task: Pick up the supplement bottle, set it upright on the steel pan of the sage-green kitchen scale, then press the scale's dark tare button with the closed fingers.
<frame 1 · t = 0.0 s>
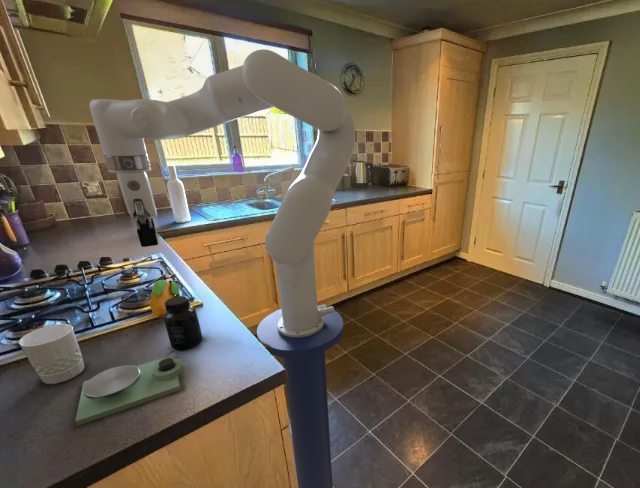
hand: (149, 240, 77), 24 cm above the worktop, tool pointing down, fingers open, 9 cm apart
scale pan: (113, 381, 64), on the scale, point 3 cm above the worktop
tare button: (166, 364, 69), point 3 cm above the worktop, slide at 0.2 cm
supplement bottle: (187, 344, 81), on the worktop
bottle: (183, 221, 185), on the worktop
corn: (167, 310, 95), on the worktop
white cup: (64, 374, 70), on the worktop
scale: (132, 387, 67), on the worktop
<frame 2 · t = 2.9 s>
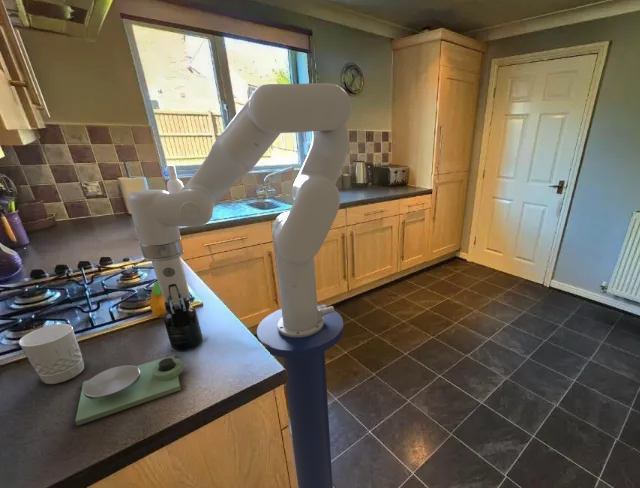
hand: (181, 318, 78), 7 cm above the worktop, tool pointing down, fingers closed on supplement bottle, 6 cm apart
supplement bottle: (187, 343, 81), on the worktop, touching gripper
everything else where it was.
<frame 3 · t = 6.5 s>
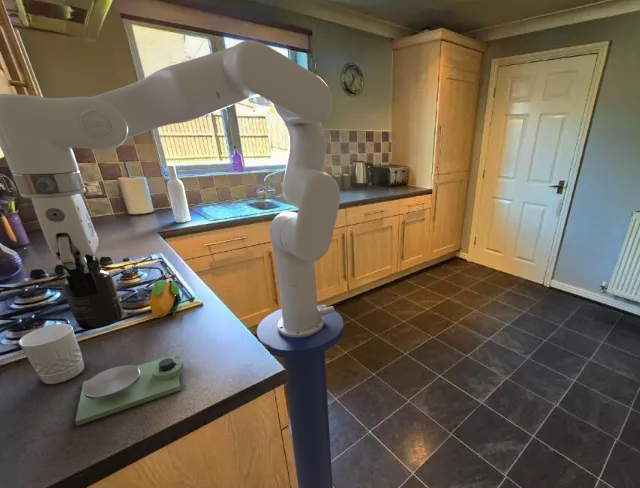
hand: (89, 286, 58), 23 cm above the worktop, tool pointing down, fingers closed on supplement bottle, 6 cm apart
supplement bottle: (102, 321, 61), point 16 cm above the worktop, touching gripper
everything else where it was.
when the fingers open (10 cm above the worktop, at t = 9.9 s): supplement bottle stays where it is, resting on scale pan.
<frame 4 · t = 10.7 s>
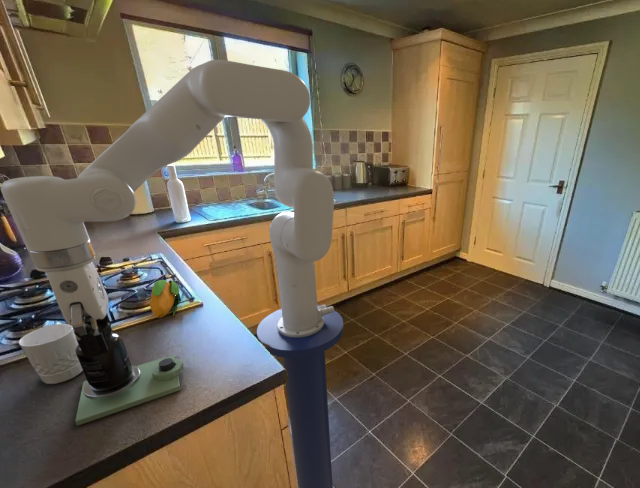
hand: (99, 340, 61), 12 cm above the worktop, tool pointing down, fingers open, 9 cm apart
supplement bottle: (113, 380, 64), point 3 cm above the worktop, touching scale pan
everything else where it was.
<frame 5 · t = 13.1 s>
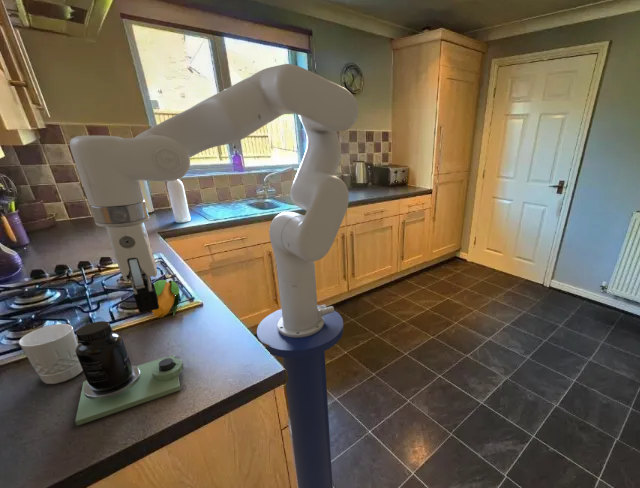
hand: (149, 306, 63), 17 cm above the worktop, tool pointing down, fingers closed
nothing on the worktop moved.
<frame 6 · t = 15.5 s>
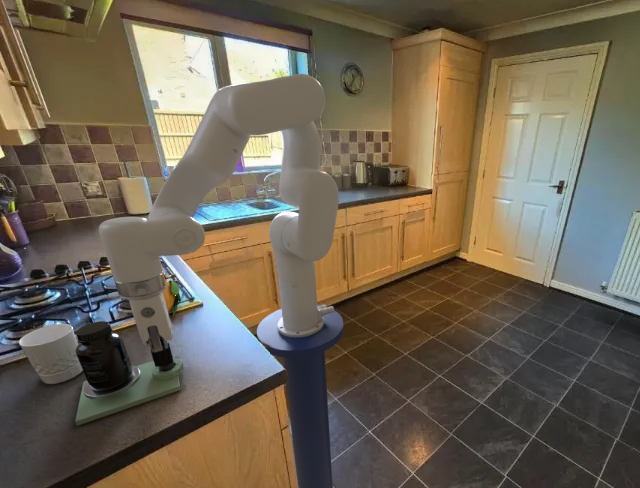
hand: (164, 362, 69), 4 cm above the worktop, tool pointing down, fingers closed
tare button: (166, 365, 69), point 3 cm above the worktop, slide at 0.1 cm, touching gripper
everything else where it was.
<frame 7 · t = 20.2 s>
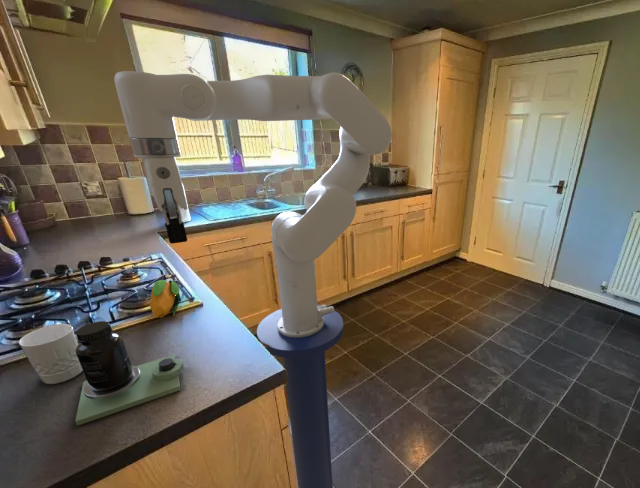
hand: (178, 241, 69), 27 cm above the worktop, tool pointing down, fingers closed
tare button: (166, 364, 69), point 3 cm above the worktop, slide at 0.1 cm
everything else where it was.
at the end: supplement bottle 0.1 cm from the target spot on the scale, point 3.1 cm above the scale's base; supplement bottle tilted 0°; tare button pushed in 0.7 cm at the most during the clip, back to where it started at the end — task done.
